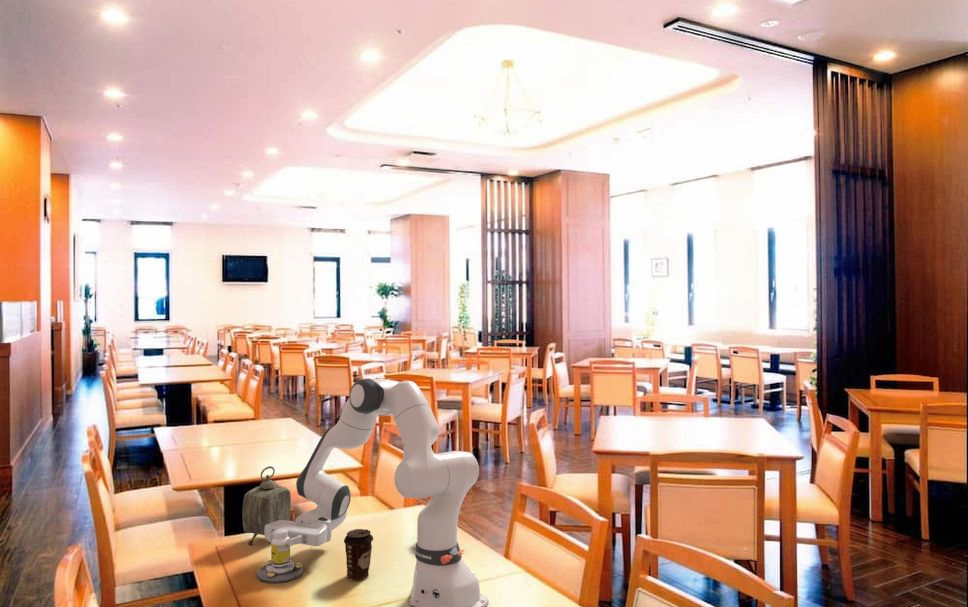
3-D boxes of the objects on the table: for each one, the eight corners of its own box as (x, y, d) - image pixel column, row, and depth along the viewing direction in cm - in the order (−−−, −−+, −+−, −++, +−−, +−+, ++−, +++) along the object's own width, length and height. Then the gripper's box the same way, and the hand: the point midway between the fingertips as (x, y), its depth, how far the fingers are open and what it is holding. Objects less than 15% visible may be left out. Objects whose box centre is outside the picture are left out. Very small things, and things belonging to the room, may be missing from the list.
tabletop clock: (270, 532, 231) (271, 460, 230) (292, 535, 227) (293, 463, 227) (242, 546, 217) (242, 470, 217) (264, 550, 214) (265, 473, 214)
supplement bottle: (270, 561, 197) (270, 528, 197) (289, 559, 199) (289, 526, 199) (271, 568, 192) (271, 534, 192) (290, 566, 194) (291, 532, 194)
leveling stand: (311, 573, 196) (311, 565, 196) (271, 587, 187) (271, 578, 187) (288, 561, 205) (288, 553, 205) (248, 574, 195) (249, 565, 195)
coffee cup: (376, 571, 198) (377, 528, 198) (369, 583, 190) (369, 538, 190) (348, 570, 199) (348, 527, 199) (339, 581, 191) (340, 537, 191)
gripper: (281, 512, 212) (251, 525, 199) (335, 521, 204) (306, 535, 191) (281, 531, 212) (251, 546, 199) (335, 541, 204) (306, 557, 191)
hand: (278, 541), depth 195 cm, fingers open, 5 cm apart
